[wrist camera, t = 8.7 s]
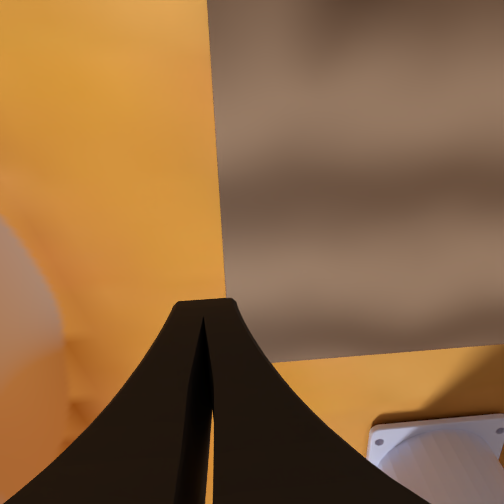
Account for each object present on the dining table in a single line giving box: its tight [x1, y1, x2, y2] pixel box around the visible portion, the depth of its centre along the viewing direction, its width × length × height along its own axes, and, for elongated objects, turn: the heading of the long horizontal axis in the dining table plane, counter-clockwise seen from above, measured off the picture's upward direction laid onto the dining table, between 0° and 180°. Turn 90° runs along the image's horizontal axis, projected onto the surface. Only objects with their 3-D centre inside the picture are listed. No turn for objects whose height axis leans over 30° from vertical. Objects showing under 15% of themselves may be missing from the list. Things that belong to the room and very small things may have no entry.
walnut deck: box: [207, 0, 504, 363], centre depth 18 cm, size 14×13×2 cm
